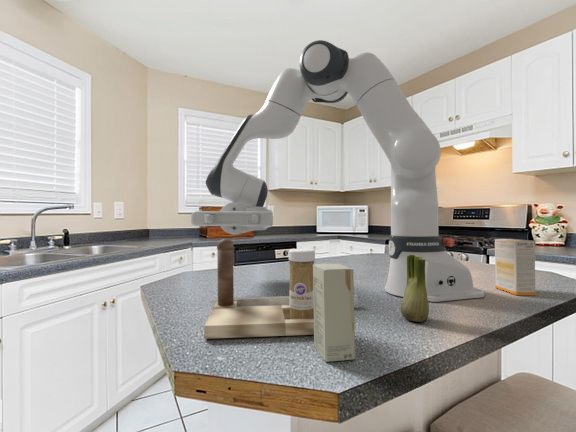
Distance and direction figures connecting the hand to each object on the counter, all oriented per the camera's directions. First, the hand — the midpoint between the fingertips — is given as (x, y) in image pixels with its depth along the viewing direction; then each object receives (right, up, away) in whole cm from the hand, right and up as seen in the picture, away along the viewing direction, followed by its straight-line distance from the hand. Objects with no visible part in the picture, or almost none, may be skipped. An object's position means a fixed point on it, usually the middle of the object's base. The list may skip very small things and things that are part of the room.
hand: (230, 218), depth 74 cm
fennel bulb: (+37, -19, -15) cm, 44 cm away
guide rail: (+13, -19, -8) cm, 24 cm away
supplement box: (+70, -18, +6) cm, 73 cm away
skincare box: (+20, -19, -29) cm, 40 cm away
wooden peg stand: (+10, -18, -16) cm, 27 cm away
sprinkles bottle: (+16, -19, -18) cm, 30 cm away
